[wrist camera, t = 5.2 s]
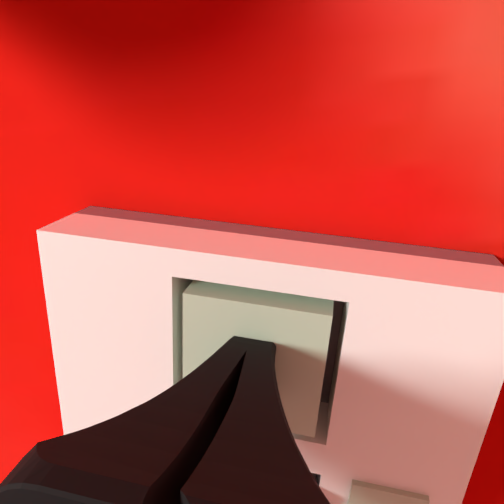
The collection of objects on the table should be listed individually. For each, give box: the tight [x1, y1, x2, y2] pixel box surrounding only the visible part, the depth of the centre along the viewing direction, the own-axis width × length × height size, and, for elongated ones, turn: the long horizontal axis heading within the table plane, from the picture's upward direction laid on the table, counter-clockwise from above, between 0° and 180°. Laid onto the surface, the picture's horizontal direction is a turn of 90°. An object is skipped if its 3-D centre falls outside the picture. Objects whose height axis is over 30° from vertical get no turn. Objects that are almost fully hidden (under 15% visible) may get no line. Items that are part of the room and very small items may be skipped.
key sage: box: [183, 280, 334, 438], centre depth 14 cm, size 4×4×2 cm
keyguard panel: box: [36, 206, 504, 504], centre depth 17 cm, size 14×20×3 cm
